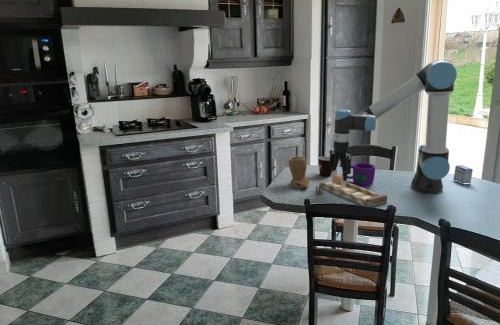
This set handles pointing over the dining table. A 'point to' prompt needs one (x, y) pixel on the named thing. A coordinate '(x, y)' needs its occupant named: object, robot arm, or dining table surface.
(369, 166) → the mug
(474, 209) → the dining table surface
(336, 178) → the ball
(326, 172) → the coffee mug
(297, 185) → the brown boot
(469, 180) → the medicine box
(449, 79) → the robot arm
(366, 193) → the wooden compartment tray
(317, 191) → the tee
